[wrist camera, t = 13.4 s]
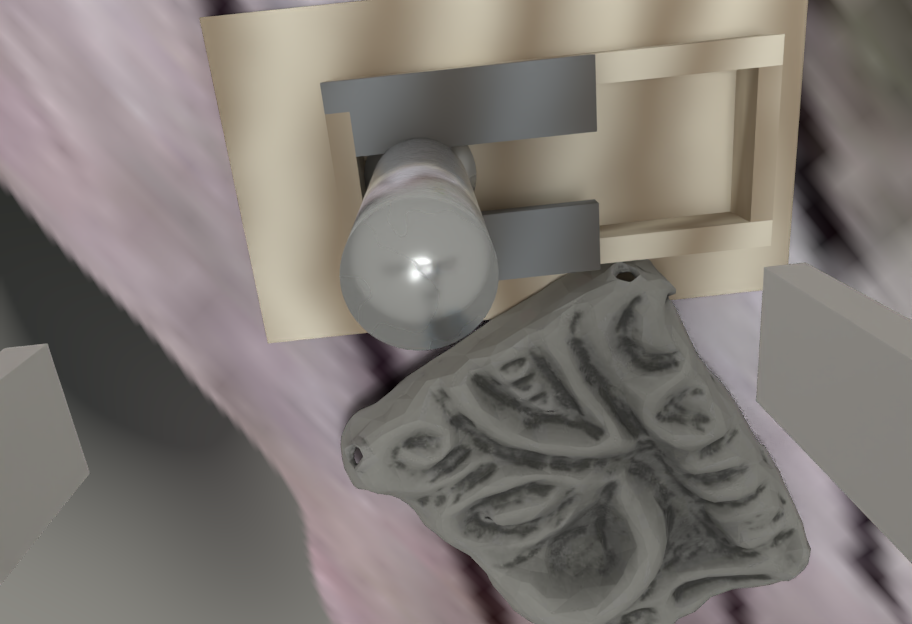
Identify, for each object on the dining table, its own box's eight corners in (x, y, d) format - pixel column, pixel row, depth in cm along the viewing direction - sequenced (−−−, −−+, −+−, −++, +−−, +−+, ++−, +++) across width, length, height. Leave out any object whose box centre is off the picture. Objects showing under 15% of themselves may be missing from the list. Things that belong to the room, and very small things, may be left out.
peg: (478, 221, 33) (524, 357, 19) (373, 231, 33) (335, 376, 18) (470, 111, 31) (512, 168, 17) (358, 122, 31) (304, 188, 17)
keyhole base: (799, -44, 31) (851, -56, 27) (776, 281, 36) (818, 308, 32) (206, 18, 30) (175, 14, 27) (271, 335, 36) (254, 369, 32)
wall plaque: (320, 430, 37) (310, 475, 33) (631, 227, 33) (657, 253, 30) (553, 679, 45) (565, 736, 42) (822, 537, 42) (860, 586, 38)
